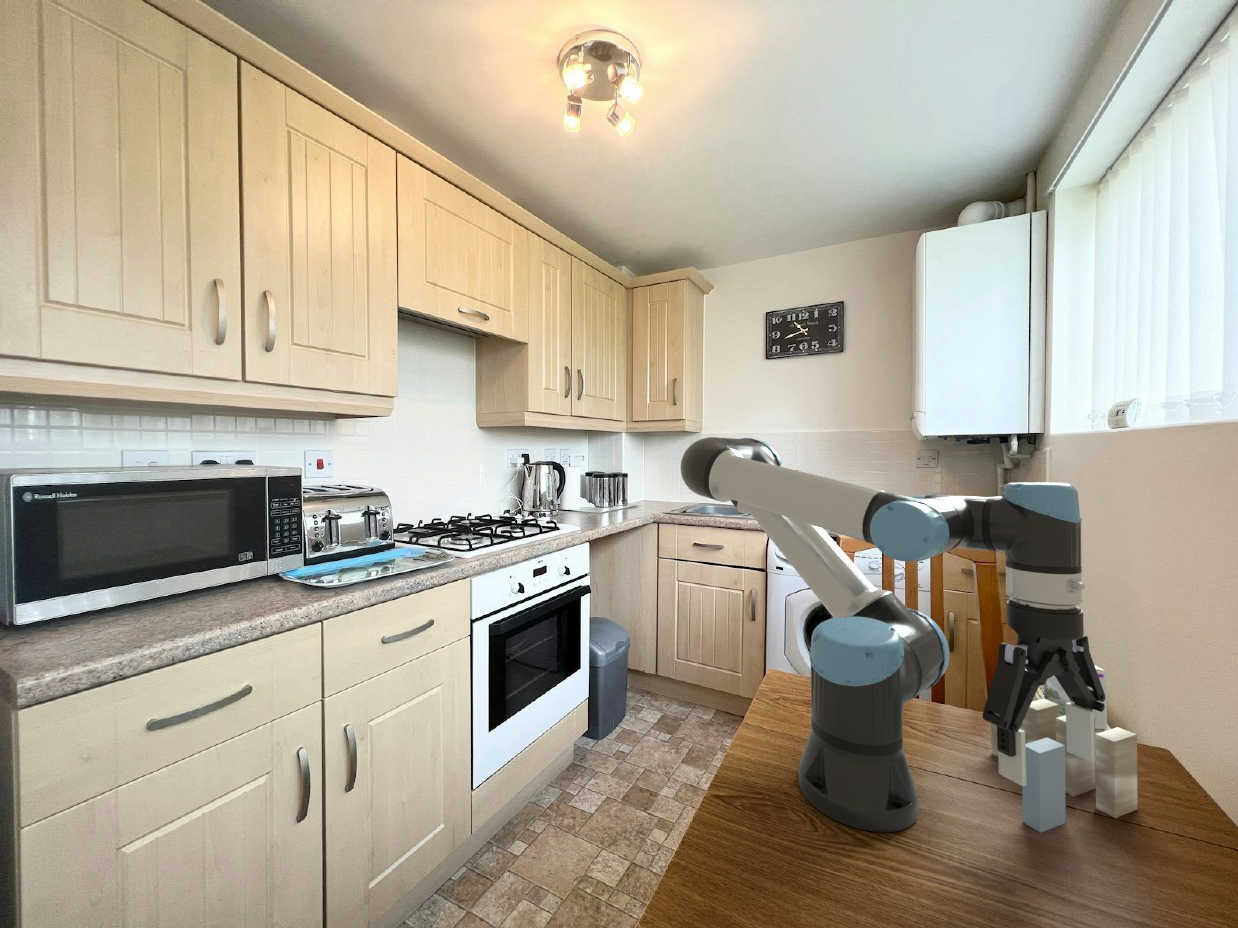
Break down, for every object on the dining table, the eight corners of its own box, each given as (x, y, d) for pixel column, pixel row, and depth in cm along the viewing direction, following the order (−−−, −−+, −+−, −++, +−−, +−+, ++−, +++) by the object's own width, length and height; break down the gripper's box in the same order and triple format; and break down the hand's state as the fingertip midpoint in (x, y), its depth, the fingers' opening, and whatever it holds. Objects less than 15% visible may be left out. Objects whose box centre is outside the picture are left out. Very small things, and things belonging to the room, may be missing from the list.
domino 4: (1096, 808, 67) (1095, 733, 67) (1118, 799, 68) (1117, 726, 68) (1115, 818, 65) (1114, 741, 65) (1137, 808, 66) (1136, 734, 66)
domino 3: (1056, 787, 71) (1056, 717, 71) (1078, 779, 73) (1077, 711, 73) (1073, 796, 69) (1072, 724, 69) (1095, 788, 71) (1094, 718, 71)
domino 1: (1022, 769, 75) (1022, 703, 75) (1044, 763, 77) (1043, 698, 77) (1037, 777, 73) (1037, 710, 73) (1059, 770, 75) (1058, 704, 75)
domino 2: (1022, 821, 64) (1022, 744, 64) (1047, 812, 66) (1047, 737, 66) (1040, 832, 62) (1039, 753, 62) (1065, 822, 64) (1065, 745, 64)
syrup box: (1110, 764, 76) (1109, 670, 76) (1065, 759, 77) (1065, 667, 78) (1083, 743, 82) (1082, 656, 82) (1042, 739, 83) (1041, 653, 83)
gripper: (1009, 621, 56) (1014, 809, 56) (1138, 598, 65) (1143, 762, 64) (946, 604, 63) (950, 771, 63) (1069, 586, 72) (1073, 733, 72)
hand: (1047, 767), depth 64 cm, fingers open, 13 cm apart
